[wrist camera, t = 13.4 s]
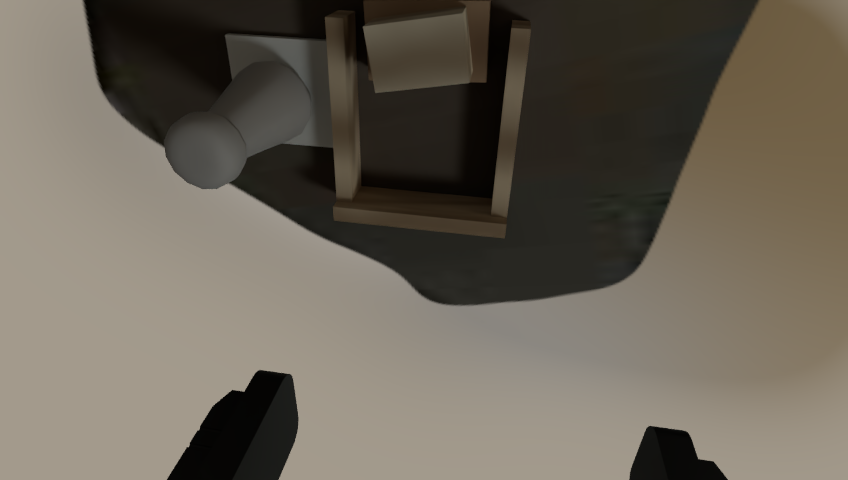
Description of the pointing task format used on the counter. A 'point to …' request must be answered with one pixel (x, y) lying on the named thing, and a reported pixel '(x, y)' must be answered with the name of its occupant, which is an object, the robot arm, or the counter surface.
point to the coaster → (307, 63)
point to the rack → (405, 204)
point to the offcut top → (419, 49)
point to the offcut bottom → (389, 3)
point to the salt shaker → (239, 124)
